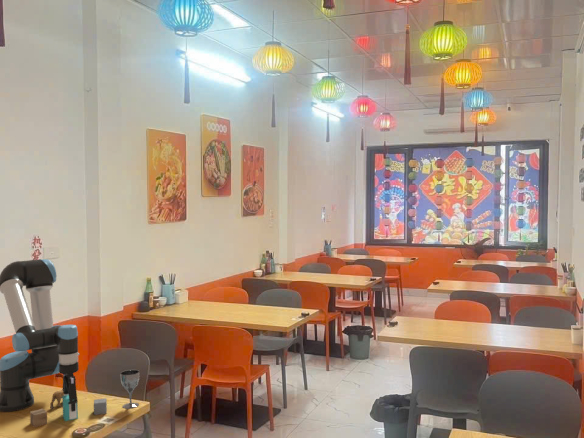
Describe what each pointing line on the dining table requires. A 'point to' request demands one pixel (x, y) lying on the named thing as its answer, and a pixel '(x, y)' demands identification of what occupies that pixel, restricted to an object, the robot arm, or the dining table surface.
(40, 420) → the walnut block
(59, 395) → the lion figurine
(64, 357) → the robot arm
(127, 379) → the wine glass
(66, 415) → the teal block
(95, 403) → the grey block
